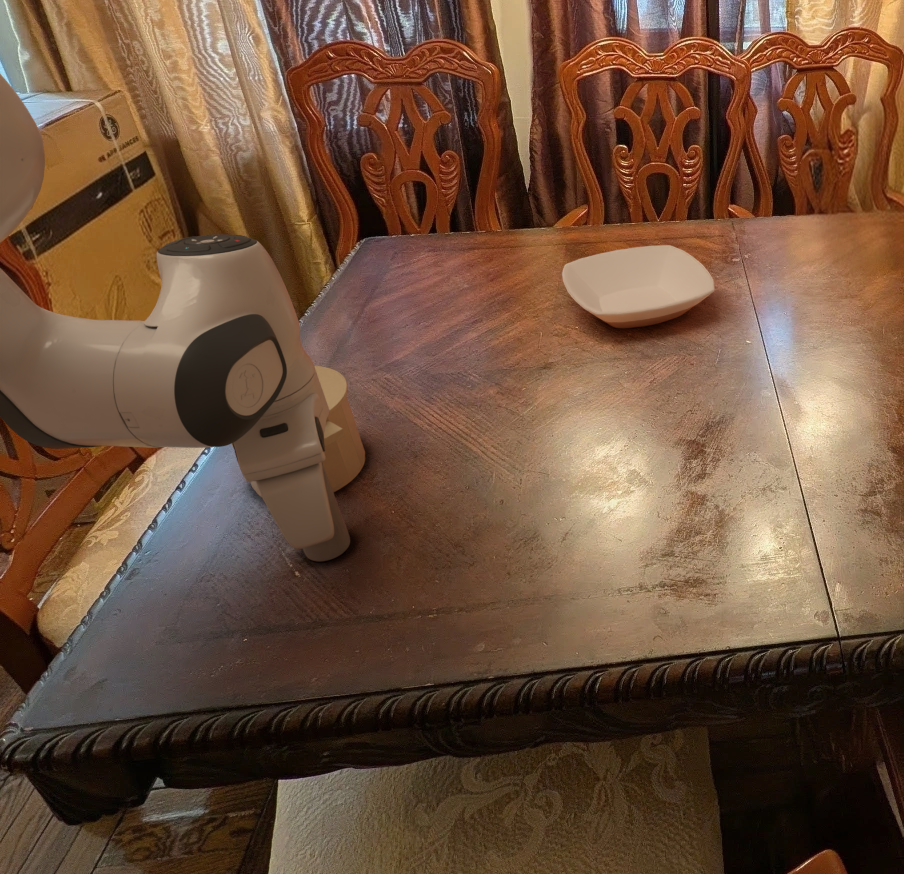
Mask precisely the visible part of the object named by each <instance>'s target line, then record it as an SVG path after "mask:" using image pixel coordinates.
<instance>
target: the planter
mask: <svg viewBox="0 0 904 874" xmlns="http://www.w3.org/2000/svg"><path fill="white" fill-rule="evenodd" d="M322 469H323V476H324V481H325V486H326V491H327V496H328V501H329V505H330V510H331V515H332V520H333V525H334V536H333V537H332V538H331V539H330V540H328V541H324V542H321V543H318V544H315V545H312V546H309V547H305V548H301V549H302V552H303V553H304V555H305V557H306V558H307V559H309V560H311V561H314V562H326V561H330V560H333V559H336V558H337V557H339V556H341V555H342V554H344V552H346V551H347V550H348V548H349V547H350V544H351V537H350V533H349V530H348V528H347V525H346V523H345V519H344V517H343V515H342V512H341V509H340V506H339V504H338V501H337V498H336V496H335V492H333V490H332V487H331V484H330V482H329V479H328V476H327V474H326V471H325V468H324V465H323V463H322Z"/></svg>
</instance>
